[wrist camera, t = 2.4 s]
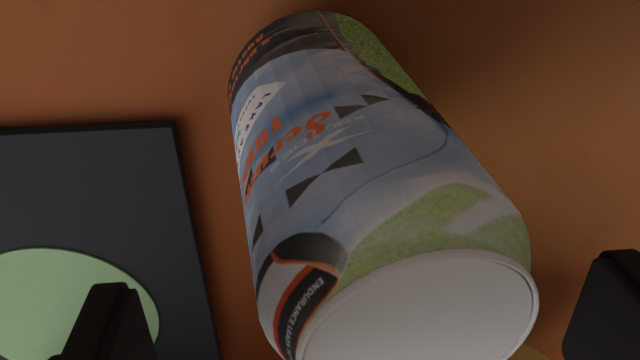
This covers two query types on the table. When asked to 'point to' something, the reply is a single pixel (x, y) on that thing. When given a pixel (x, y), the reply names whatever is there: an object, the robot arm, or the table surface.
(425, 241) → the beverage can
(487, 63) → the table surface
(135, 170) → the desk mat
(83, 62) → the table surface
